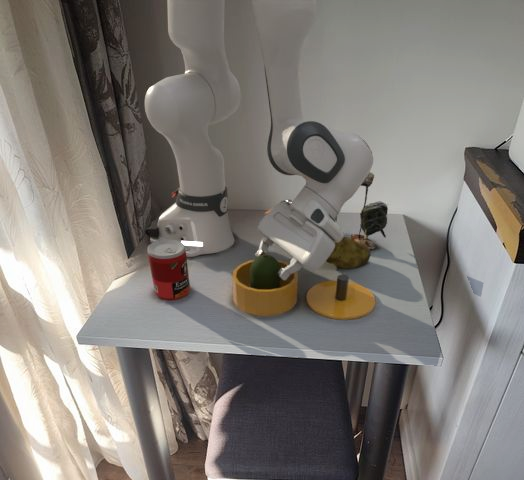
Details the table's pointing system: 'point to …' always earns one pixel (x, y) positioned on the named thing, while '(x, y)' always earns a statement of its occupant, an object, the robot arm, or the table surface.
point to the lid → (340, 299)
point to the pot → (263, 293)
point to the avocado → (265, 273)
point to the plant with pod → (371, 217)
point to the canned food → (169, 269)
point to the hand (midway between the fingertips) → (269, 267)
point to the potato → (349, 254)
